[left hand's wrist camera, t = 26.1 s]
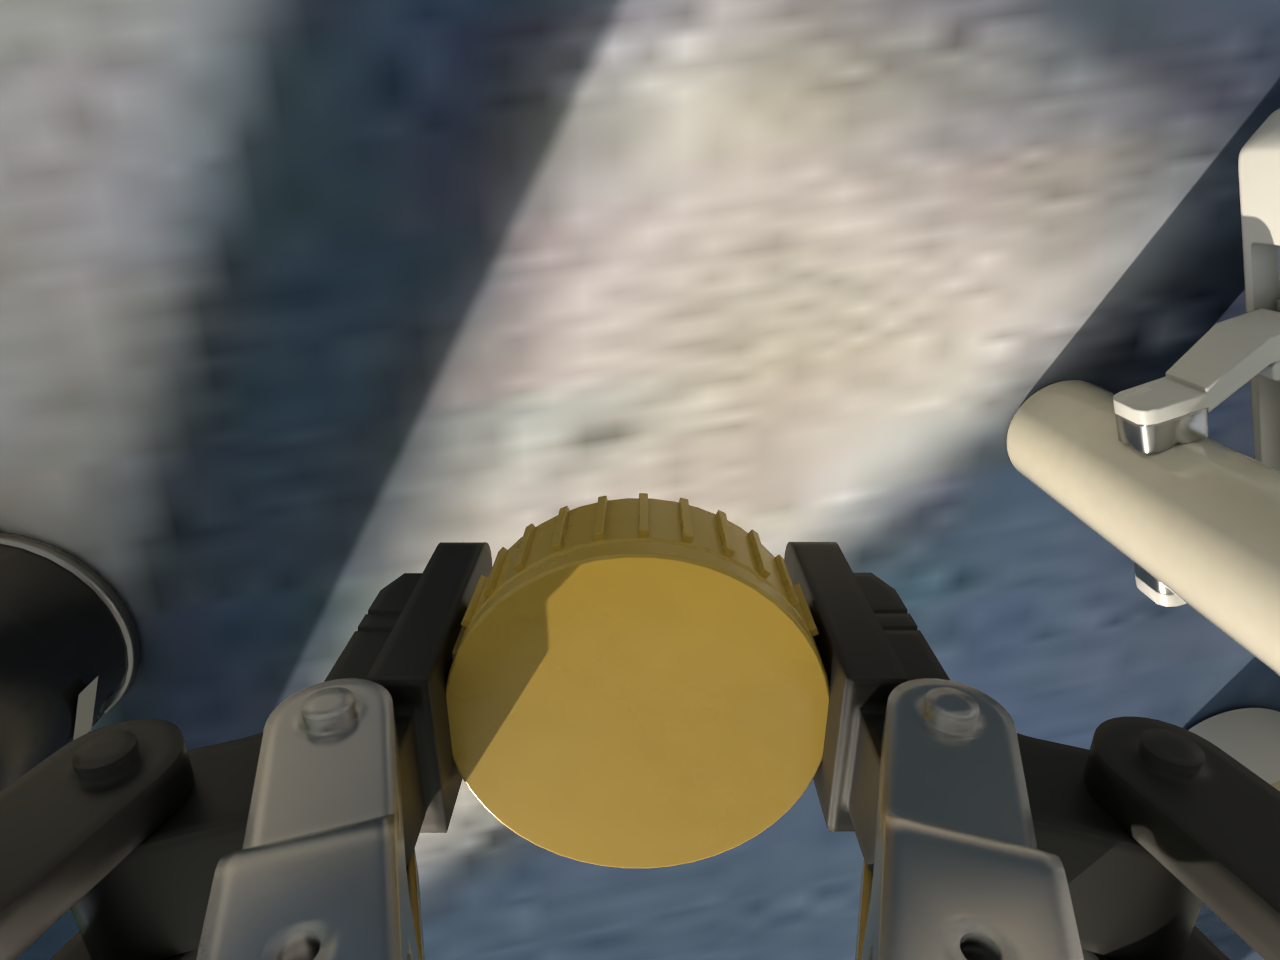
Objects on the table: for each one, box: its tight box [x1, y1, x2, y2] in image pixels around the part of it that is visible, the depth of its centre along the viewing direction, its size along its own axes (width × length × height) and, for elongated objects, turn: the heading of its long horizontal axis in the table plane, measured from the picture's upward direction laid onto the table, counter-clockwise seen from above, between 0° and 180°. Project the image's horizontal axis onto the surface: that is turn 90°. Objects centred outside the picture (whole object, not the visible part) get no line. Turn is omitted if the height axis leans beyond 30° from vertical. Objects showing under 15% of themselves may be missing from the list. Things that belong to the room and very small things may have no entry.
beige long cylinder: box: [1007, 380, 1280, 676], centre depth 21 cm, size 4×4×18 cm
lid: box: [446, 493, 830, 868], centre depth 10 cm, size 5×5×2 cm
